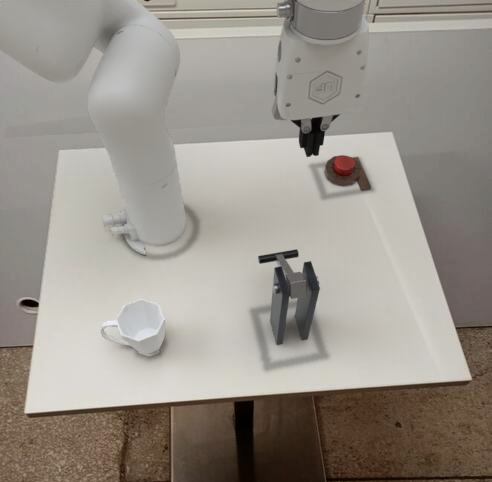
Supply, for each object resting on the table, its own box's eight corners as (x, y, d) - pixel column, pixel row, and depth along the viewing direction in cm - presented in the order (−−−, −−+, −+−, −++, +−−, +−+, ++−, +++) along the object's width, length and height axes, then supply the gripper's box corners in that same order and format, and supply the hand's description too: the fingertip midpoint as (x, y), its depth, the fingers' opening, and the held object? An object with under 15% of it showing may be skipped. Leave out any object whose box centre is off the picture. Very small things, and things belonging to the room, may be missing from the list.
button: (336, 178, 92) (338, 170, 90) (330, 164, 93) (332, 156, 92) (355, 175, 92) (357, 167, 90) (349, 161, 94) (351, 153, 92)
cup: (171, 364, 76) (163, 340, 69) (105, 365, 76) (91, 342, 69) (173, 323, 80) (166, 297, 73) (110, 324, 80) (97, 298, 72)
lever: (258, 265, 76) (257, 251, 75) (297, 258, 76) (296, 244, 75) (277, 301, 66) (275, 285, 64) (321, 293, 66) (320, 277, 65)
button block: (324, 197, 92) (326, 187, 90) (312, 166, 96) (314, 156, 94) (370, 189, 93) (373, 179, 91) (357, 159, 97) (360, 149, 95)
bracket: (253, 311, 81) (254, 252, 67) (307, 301, 82) (319, 241, 68) (267, 367, 76) (272, 316, 62) (324, 356, 77) (341, 303, 63)
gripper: (262, 40, 49) (260, 176, 66) (408, 22, 50) (371, 161, 67) (249, -3, 53) (251, 137, 69) (385, -19, 54) (356, 123, 70)
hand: (310, 149), depth 68 cm, fingers closed
